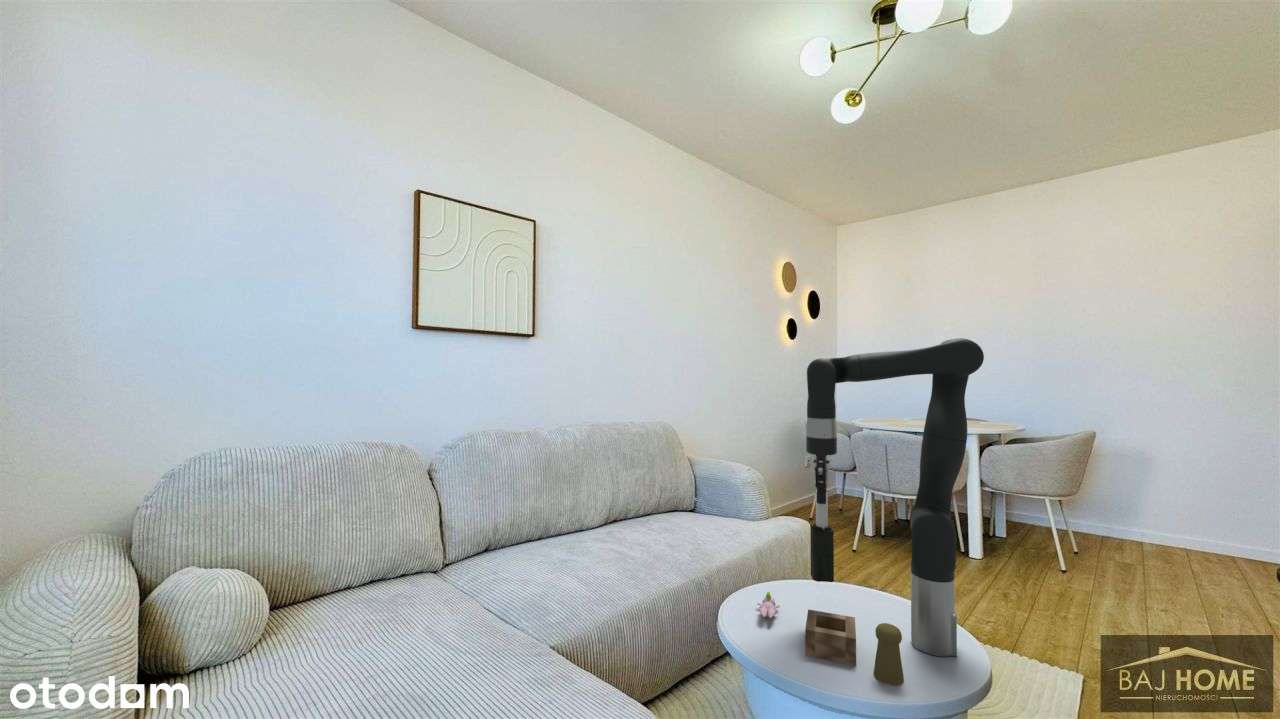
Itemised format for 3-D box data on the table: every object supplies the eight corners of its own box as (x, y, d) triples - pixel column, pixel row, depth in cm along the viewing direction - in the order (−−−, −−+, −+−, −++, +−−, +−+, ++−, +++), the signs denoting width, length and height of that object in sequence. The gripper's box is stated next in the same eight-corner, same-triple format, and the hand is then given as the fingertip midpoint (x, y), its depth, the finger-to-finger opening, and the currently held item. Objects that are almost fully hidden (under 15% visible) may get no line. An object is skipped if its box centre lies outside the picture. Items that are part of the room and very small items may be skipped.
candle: (829, 574, 134) (829, 479, 135) (835, 582, 129) (834, 483, 130) (809, 573, 135) (809, 478, 135) (814, 581, 129) (813, 482, 130)
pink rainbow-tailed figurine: (757, 607, 147) (754, 622, 133) (758, 585, 148) (755, 598, 134) (780, 610, 145) (779, 626, 131) (780, 588, 146) (779, 601, 132)
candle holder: (855, 642, 126) (854, 617, 126) (856, 665, 116) (856, 638, 116) (808, 633, 130) (808, 609, 130) (805, 655, 120) (805, 629, 120)
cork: (868, 669, 114) (867, 619, 114) (893, 668, 115) (893, 619, 115) (883, 686, 108) (883, 633, 108) (910, 685, 108) (910, 632, 109)
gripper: (836, 439, 125) (836, 510, 124) (837, 433, 138) (837, 497, 137) (804, 437, 128) (804, 507, 127) (808, 431, 141) (808, 494, 140)
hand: (821, 501), depth 132 cm, fingers closed on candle, 3 cm apart
